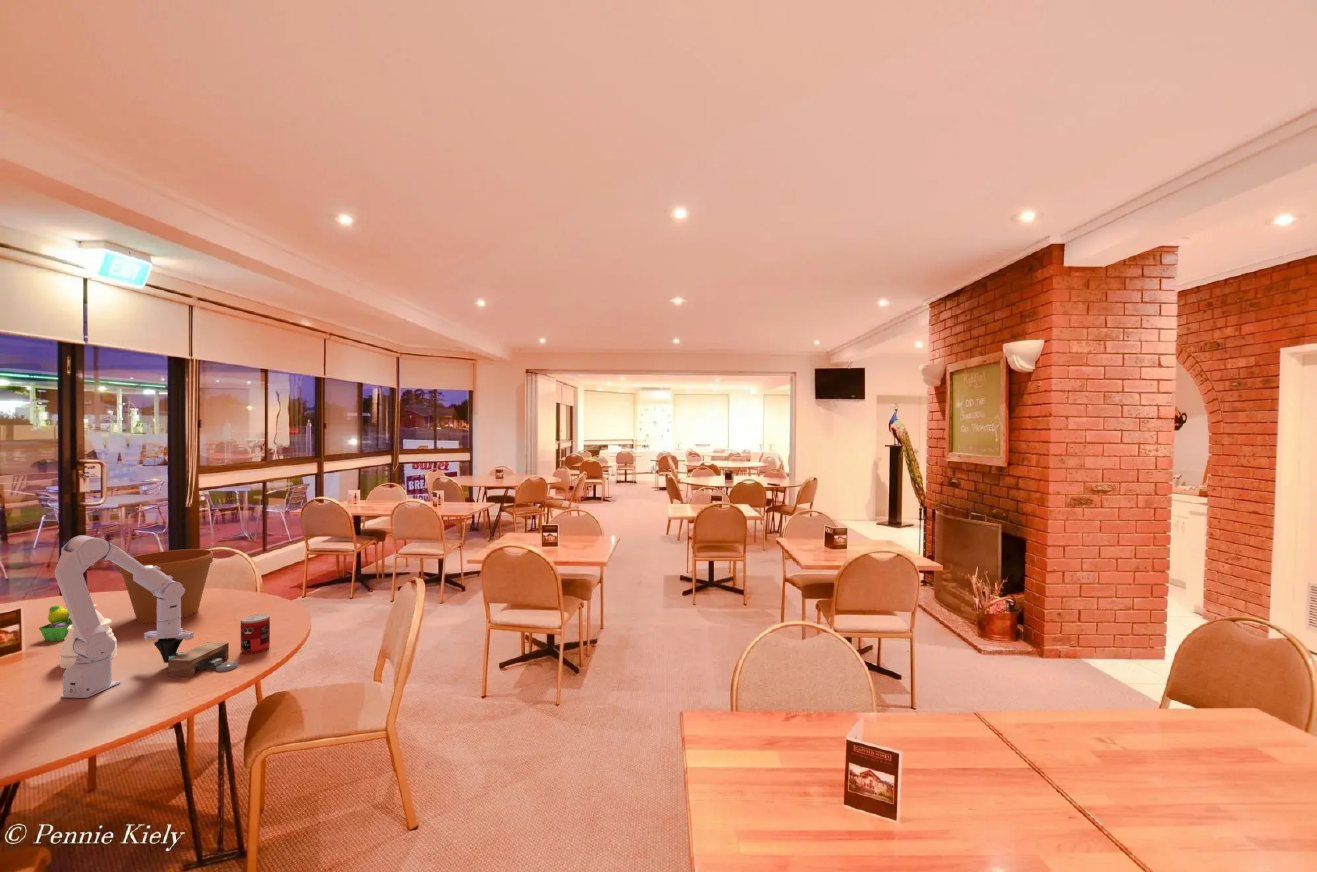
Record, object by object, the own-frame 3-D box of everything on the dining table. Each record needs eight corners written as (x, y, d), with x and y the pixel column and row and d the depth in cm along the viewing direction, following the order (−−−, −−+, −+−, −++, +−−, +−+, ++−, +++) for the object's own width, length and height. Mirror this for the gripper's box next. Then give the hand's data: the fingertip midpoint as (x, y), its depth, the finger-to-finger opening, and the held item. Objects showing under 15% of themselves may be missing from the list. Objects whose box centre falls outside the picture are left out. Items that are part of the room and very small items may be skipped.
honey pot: (122, 657, 181) (122, 602, 181) (66, 672, 170) (66, 613, 170) (109, 649, 188) (108, 596, 187) (54, 662, 177) (53, 606, 176)
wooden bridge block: (190, 676, 167) (190, 660, 167) (168, 676, 167) (168, 659, 167) (228, 657, 181) (228, 642, 181) (207, 657, 181) (207, 642, 181)
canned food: (238, 649, 188) (238, 617, 187) (267, 643, 193) (267, 612, 193) (242, 656, 182) (242, 623, 182) (271, 649, 188) (271, 617, 188)
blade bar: (214, 670, 172) (214, 657, 172) (168, 669, 173) (168, 655, 173) (222, 666, 175) (222, 653, 175) (177, 665, 176) (177, 652, 176)
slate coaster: (227, 673, 170) (227, 669, 170) (211, 672, 171) (210, 668, 171) (242, 665, 176) (242, 661, 176) (226, 664, 176) (226, 661, 176)
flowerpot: (115, 632, 203) (114, 568, 202) (124, 613, 224) (123, 555, 224) (213, 616, 220) (212, 558, 220) (212, 599, 242) (212, 546, 242)
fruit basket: (59, 642, 194) (58, 610, 193) (33, 642, 193) (33, 610, 193) (92, 630, 205) (92, 600, 205) (68, 630, 205) (68, 600, 205)
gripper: (202, 614, 178) (202, 656, 178) (158, 614, 179) (159, 655, 179) (182, 622, 171) (182, 666, 171) (137, 621, 172) (137, 665, 172)
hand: (169, 661), depth 174 cm, fingers closed
